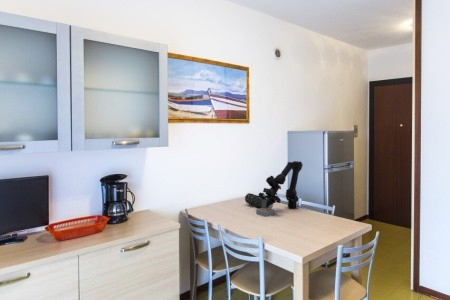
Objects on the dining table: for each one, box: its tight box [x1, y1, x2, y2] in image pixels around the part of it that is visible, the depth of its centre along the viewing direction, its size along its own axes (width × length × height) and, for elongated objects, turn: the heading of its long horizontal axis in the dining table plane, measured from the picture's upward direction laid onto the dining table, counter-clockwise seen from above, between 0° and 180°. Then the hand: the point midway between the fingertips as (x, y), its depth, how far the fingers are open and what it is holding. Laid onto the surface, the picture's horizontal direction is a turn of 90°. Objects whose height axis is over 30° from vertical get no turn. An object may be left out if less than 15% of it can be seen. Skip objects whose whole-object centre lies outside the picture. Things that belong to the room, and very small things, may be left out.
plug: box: [262, 199, 269, 211], centre depth 236 cm, size 4×4×11 cm
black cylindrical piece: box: [244, 192, 274, 209], centre depth 259 cm, size 10×28×10 cm, turn 31°
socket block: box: [255, 207, 276, 218], centre depth 236 cm, size 10×10×4 cm
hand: (264, 206), depth 235 cm, fingers closed on plug, 4 cm apart
